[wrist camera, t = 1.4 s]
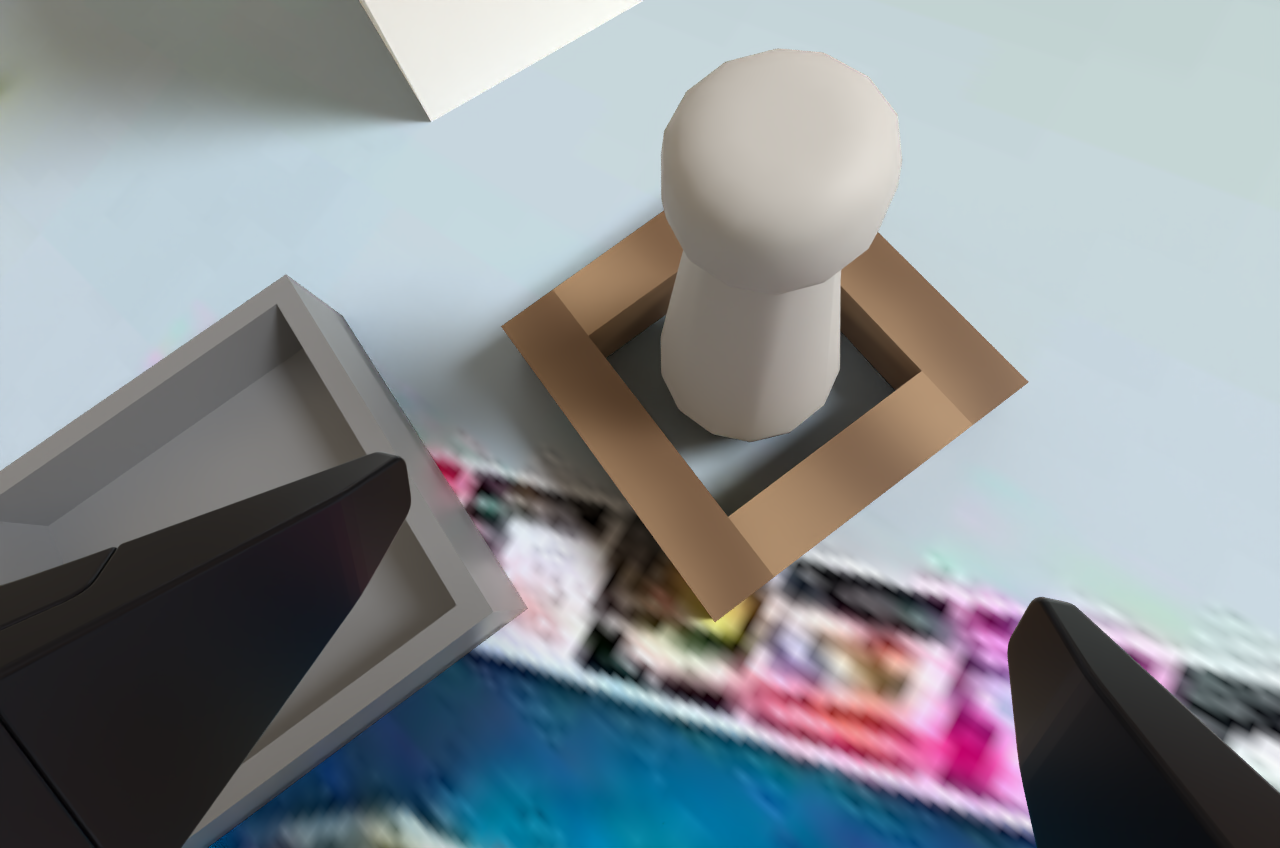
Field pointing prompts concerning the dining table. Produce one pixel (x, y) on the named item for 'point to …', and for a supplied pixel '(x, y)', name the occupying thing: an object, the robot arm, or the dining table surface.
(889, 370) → the brown flat square frame
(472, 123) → the dining table surface
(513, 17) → the milk
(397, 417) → the bin
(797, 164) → the salt shaker
